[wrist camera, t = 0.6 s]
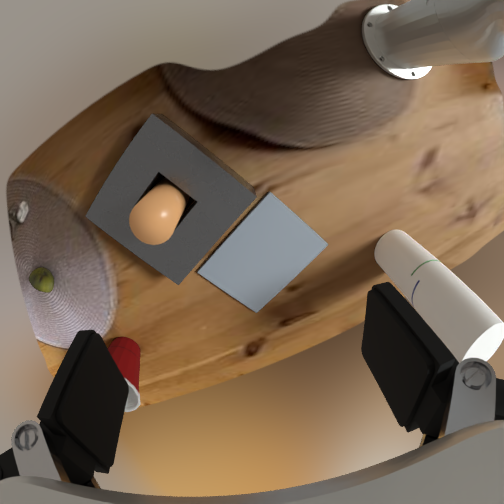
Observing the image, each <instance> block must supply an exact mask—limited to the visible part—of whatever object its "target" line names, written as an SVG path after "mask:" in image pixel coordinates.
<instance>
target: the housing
mask: <svg viewBox="0 0 504 504" xmlns="http://www.w3.org/2000/svg"><path fill="white" fill-rule="evenodd" d="M160 174H162V175H163V176H165V177H166V178H167V179H169V180H170V181H171V182H173V183H174V184H175V185H176V186H178V187H179V188H180V189H182V190H183V191H184V192H185V193H187V194H188V195H189V196H191V197H192V198H193V199H194V202H193V203H192V204H191V205H190V207H189V208H188V209H187V210H186V212H185V213H184V214H183V215H182V217H181V218H180V219H179V221H178V223H177V225H176V228H175V230H174V232H173V234H172V236H171V237H170V238H169V239H168V240H167V241H165V242H164V243H162V244H158V245H150V244H146V243H144V242H142V241H140V240H139V239H138V238H136V236H135V235H134V234H133V232H132V230H131V228H130V224H129V217H130V213H131V211H132V209H133V208H134V206H135V205H136V204H137V203H138V202H139V201H140V200H141V199H142V198H143V197H144V196H145V195H146V193H147V192H148V191H149V189H150V188H151V186H152V185H153V184H154V182H155V181H156V180H157V178H158V177H159V176H160ZM256 197H257V196H256V193H255V190H254V187H253V186H252V185H250V184H249V183H248V182H247V181H246V180H244V179H243V178H242V177H241V176H240V175H238V174H237V173H236V172H235V171H234V170H232V169H231V168H230V167H229V166H227V165H226V164H225V163H224V162H223V161H221V160H220V159H219V158H218V157H216V156H215V155H214V154H213V153H211V152H210V151H209V150H208V149H206V148H205V147H204V146H203V145H201V144H200V143H199V142H198V141H196V140H195V139H194V138H193V137H191V136H190V135H189V134H187V133H186V132H185V131H184V130H182V129H181V128H180V127H178V126H177V125H176V124H174V123H173V122H172V121H171V120H169V119H168V118H167V117H165V116H164V115H163V114H151V116H150V117H149V118H148V120H147V121H146V122H145V124H144V125H143V126H142V128H141V129H140V130H139V132H138V133H137V135H136V136H135V137H134V139H133V140H132V142H131V143H130V144H129V146H128V147H127V149H126V150H125V152H124V153H123V155H122V156H121V158H120V159H119V161H118V162H117V164H116V165H115V167H114V168H113V170H112V172H111V173H110V175H109V176H108V178H107V180H106V181H105V183H104V184H103V186H102V188H101V189H100V191H99V193H98V195H97V196H96V198H95V200H94V202H93V203H92V205H91V207H90V209H89V210H88V212H87V214H86V216H85V217H87V218H88V219H89V220H90V221H92V222H93V223H94V224H95V225H97V226H98V227H99V228H101V229H102V230H103V231H104V232H106V233H107V234H108V235H110V236H111V237H112V238H114V239H115V240H116V241H118V242H119V243H120V244H122V245H123V246H124V247H126V248H127V249H128V250H130V251H131V252H132V253H134V254H135V255H137V256H138V257H139V258H141V259H142V260H143V261H145V262H146V263H148V264H149V265H150V266H152V267H153V268H155V269H156V270H157V271H159V272H160V273H162V274H163V275H165V276H166V277H167V278H169V279H170V280H172V281H173V282H175V283H176V284H178V285H179V284H180V283H181V282H182V281H183V279H184V278H185V277H186V276H187V275H188V274H189V272H190V271H191V270H192V269H193V268H194V267H195V265H196V264H197V263H198V262H199V261H200V260H201V259H202V257H203V256H204V255H205V254H206V253H207V252H208V251H209V250H210V248H211V247H212V246H213V245H214V244H215V243H216V242H217V240H218V239H219V238H220V237H221V236H222V235H223V234H224V233H225V231H226V230H227V229H228V228H229V227H230V226H231V225H232V224H233V223H234V221H235V220H236V219H237V218H238V217H239V216H240V215H241V214H242V213H243V211H244V210H245V209H246V208H247V207H248V206H249V205H250V204H251V203H252V202H253V201H254V199H255V198H256Z"/></svg>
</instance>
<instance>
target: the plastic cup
mask: <svg viewBox="0 0 504 504" xmlns="http://www.w3.org/2000/svg"><path fill="white" fill-rule="evenodd" d="M107 349H108V351H109V352H110V354H111V356H112V358H113V360H114V361H115V363H116V365H117V367H118V368H119V370H120V372H121V373H122V375H123V377H124V378H125V380H126V382H127V383H128V386H129V394H128V398H127V402H126V406H125V411H124V412H129V411H132V410H136V409H137V408H138V406H139V405H140V394H139V371H140V348H139V346H138V344H137V343H136V342H135V341H133V340H131V339H130V338H127V337H118V338H116V339H115V340H113V341H112V343H111V344H110V346H109V347H108V348H107Z"/></svg>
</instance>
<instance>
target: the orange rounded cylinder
mask: <svg viewBox="0 0 504 504" xmlns="http://www.w3.org/2000/svg"><path fill="white" fill-rule="evenodd" d="M188 200H189V195H188V194H187V193H185V192H184V191H183V190H182V189H180V188H179V187H178V186H176V185H175V184H174V183H173V182H171V181H170V180H169V179H167V178H165V179H163V180H161V181H160V182H159V183H158V184H157V185H156V186H155V187H154V188H153V189H152V190H151V191H150V192H148V193H147V194H146V195H145V196H144V197H143V198H142V199H141V200H140V201H139V202H138V203H137V204H136V205H135V206H134V208H133V209H132V211H131V213H130V217H129V224H130V228H131V230H132V232H133V234H134V235H135V236H136V238H138V239H139V240H140V241H142V242H144V243H146V244H150V245H158V244H162V243H164V242H165V241H167V240H168V239H169V238H170V237H171V236H172V234H173V232H174V230H175V228H176V225H177V223H178V221H179V219H180V217H181V215H182V213H183V211H184V209H185V207H186V205H187V203H188Z"/></svg>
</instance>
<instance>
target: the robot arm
mask: <svg viewBox="0 0 504 504" xmlns="http://www.w3.org/2000/svg"><path fill="white" fill-rule="evenodd" d="M367 25H368V26H367ZM362 37H363V40H364V44H365V46H366V48H367V51H368V52H369V54H370V55H371V57H372V58H373V60H374V61H375V62H376V63H377V64H378V65H379V66H380V67H381V68H382V69H383V70H385V71H386V72H388V73H389V74H391V75H393V76H395V77H397V78H401V79H408V80H411V79H417V78H421V77H423V76H424V75H426V74H427V73H428V72H429V71H430V69H431V67H433V66H442V65H451V64H463V63H479V62H491V61H495V60H497V59H499V58H501V57H502V56H503V55H504V0H411V1H409V2H407V3H404V4H402V5H400V6H396V5H391V4H383V5H379V6H376V7H375V8H373V9H371V10H370V11H369V12H368V13H367V14H366V16H365V17H364V20H363V22H362ZM380 60H381V61H380ZM361 349H362V355H363V357H364V359H365V361H366V363H367V365H368V367H369V368H370V370H371V372H372V374H373V376H374V378H375V380H376V381H377V383H378V385H379V387H380V389H381V391H382V393H383V395H384V396H385V398H386V400H387V402H388V404H389V406H390V408H391V410H392V412H393V414H394V416H395V418H396V419H397V422H398V423H399V425H400V426H401V427H403V426H405V428H406V430H407V432H410V431H413V430H415V429H417V428H420V430H421V432H422V434H423V436H422V439H421V443H420V446H419V448H417V449H415V450H412V451H410V452H408V453H405V454H403V455H400V456H398V457H395V458H393V459H390V460H387V461H385V462H382V463H379V464H376V465H374V466H371V467H368V468H365V469H362V470H359V471H356V472H352V473H349V474H346V475H342V476H339V477H336V478H331V479H328V480H324V481H319V482H315V483H311V484H306V485H302V486H297V487H292V488H286V489H280V490H274V491H268V492H260V493H251V494H241V495H231V496H212V497H211V496H210V497H172V496H153V495H141V494H132V493H123V492H116V491H109V490H103V489H101V488H100V486H99V484H98V483H97V481H96V479H95V478H94V476H93V475H94V470H95V471H96V472H101V473H107V474H108V473H109V469H110V467H111V466H112V465H113V463H114V458H115V453H116V448H117V443H118V438H119V433H120V428H121V424H122V419H123V415H124V411H125V406H126V402H127V398H128V394H129V386H128V383H127V382H126V380H125V378H124V377H123V375H122V373H121V372H120V370H119V368H118V367H117V365H116V363H115V361H114V360H113V358H112V356H111V354H110V352H109V351H108V349H107V347H106V345H105V343H104V341H103V339H102V337H101V336H100V335H99V334H97V333H96V332H95V331H94V330H83V331H79V332H78V333H77V334H76V336H75V338H74V340H73V342H72V344H71V346H70V348H69V349H68V351H67V353H66V355H65V357H64V359H63V361H62V363H61V365H60V367H59V369H58V371H57V373H56V375H55V377H54V380H53V382H52V384H51V386H50V388H49V390H48V393H47V395H46V397H45V399H44V401H43V404H42V406H41V408H40V411H39V413H38V415H37V417H38V418H39V420H41V422H40V424H38V423H37V422H35V421H32V420H31V421H25V422H22V423H21V424H20V425H18V426H17V428H16V429H15V430H14V432H13V435H12V439H11V440H12V448H11V449H9V450H7V451H6V452H4V453H3V454H1V455H0V504H504V380H502V379H498V378H496V375H495V371H494V370H493V368H492V366H491V365H490V364H489V363H487V362H486V361H484V360H482V359H479V358H467V359H464V360H463V361H461V362H460V363H459V362H458V361H457V359H456V358H455V356H454V355H453V354H452V353H451V351H450V350H449V349H448V348H447V347H446V345H445V344H444V343H443V342H442V341H441V339H440V338H439V337H438V336H437V335H436V333H435V332H434V331H433V330H432V329H431V328H430V326H429V325H428V324H427V323H426V322H425V321H424V320H423V318H422V317H421V316H420V315H419V314H418V313H417V312H416V311H415V309H414V308H413V307H412V306H411V305H410V304H409V303H408V302H407V300H406V299H405V298H404V297H403V296H402V295H401V294H400V293H399V292H398V291H397V290H396V288H395V287H394V286H393V285H392V284H391V283H389V282H386V283H381V284H377V285H374V286H373V287H372V290H370V291H369V292H368V295H367V306H366V315H365V324H364V333H363V340H362V348H361Z"/></svg>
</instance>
